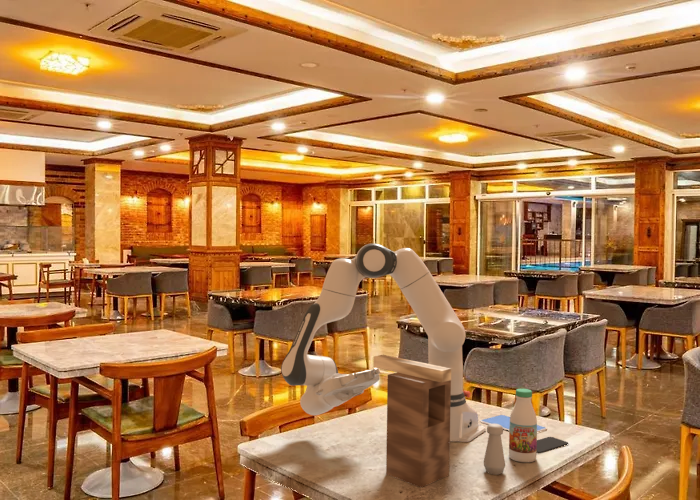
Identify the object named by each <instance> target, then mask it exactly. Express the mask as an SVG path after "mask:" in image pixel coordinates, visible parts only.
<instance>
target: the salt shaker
mask: <svg viewBox="0 0 700 500" xmlns="http://www.w3.org/2000/svg"><path fill="white" fill-rule="evenodd" d="M486 432H487V434H488V440H487V444H486V449H485V454H484V457H483V466H484V469H485V471H486V473H488V474H489V475H498V476H499V475H501V474H502V473H503V472H504V469H505V467H506V460H505V454H504V446H503V443H502V442H503V441H502V436H501V435H503V434H504V430H503V427H502V426H501V425H499V424H489V425H487V426H486Z"/></svg>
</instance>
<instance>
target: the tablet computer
mask: <svg viewBox="0 0 700 500" xmlns="http://www.w3.org/2000/svg"><path fill="white" fill-rule="evenodd" d="M480 422H481V424H483V425H487V426H488V425H489V424H499V425H501V426H502V427H503V429H504V430H503V431H506V430H508V431H507V432H509V427H510V416H507V415H505V414H500V415H495V416H492V417H487V418H483V419H480V420H479V423H480ZM546 429H547V430H548V428H547V427H546V426H543V425H538V424H537V432H540V431H543V432H545V431H544V430H546ZM547 430H546V431H547ZM540 433H541V432H540Z"/></svg>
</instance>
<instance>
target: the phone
mask: <svg viewBox="0 0 700 500" xmlns="http://www.w3.org/2000/svg"><path fill="white" fill-rule="evenodd" d="M567 444H568V445H569V442H568V441H566V440H564V439H563V440H562V439H559V438H556V437H554V436H546V437H544V438H539V439H537V452H536V454H543V453H546V452H549V450H550V451H552V449H553V450H556V449H559V448H558V447H560V448H562V447H561V446H563V447H565V446H564V445H567ZM568 445H567V446H568ZM555 448H556V449H555Z"/></svg>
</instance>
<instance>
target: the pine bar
mask: <svg viewBox="0 0 700 500" xmlns="http://www.w3.org/2000/svg"><path fill="white" fill-rule="evenodd" d="M372 364H373V365H372V366H373V368H379V370H385V371H391V372H393V373H397V372H398V373H402V374H406V375H411V376H415V377H420V378H424V379H428V380H433V381H437V382H446V381H449V380H451V368H446V367H441V366H436V365H431V364H428V362H427V363H426V362H421V361H416V360H410V359H405V358H401V357H397V356H392V355H387V354H380V355H379V354H378V355H373V363H372Z"/></svg>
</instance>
